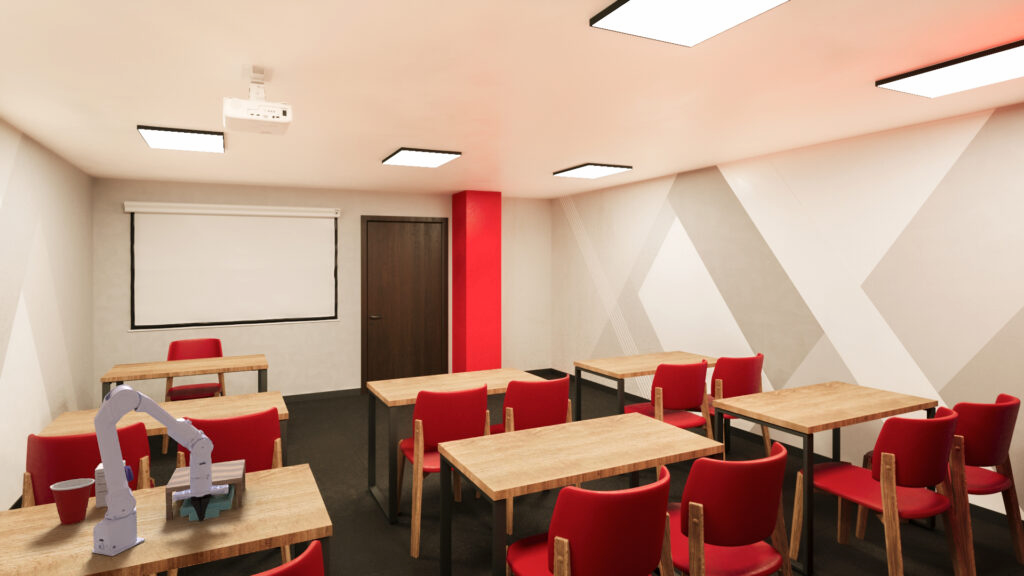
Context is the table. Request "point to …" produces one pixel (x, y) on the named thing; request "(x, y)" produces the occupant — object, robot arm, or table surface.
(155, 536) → the table surface
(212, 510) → the tray
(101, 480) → the supplement box
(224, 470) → the walnut shelf
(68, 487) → the plastic cup
